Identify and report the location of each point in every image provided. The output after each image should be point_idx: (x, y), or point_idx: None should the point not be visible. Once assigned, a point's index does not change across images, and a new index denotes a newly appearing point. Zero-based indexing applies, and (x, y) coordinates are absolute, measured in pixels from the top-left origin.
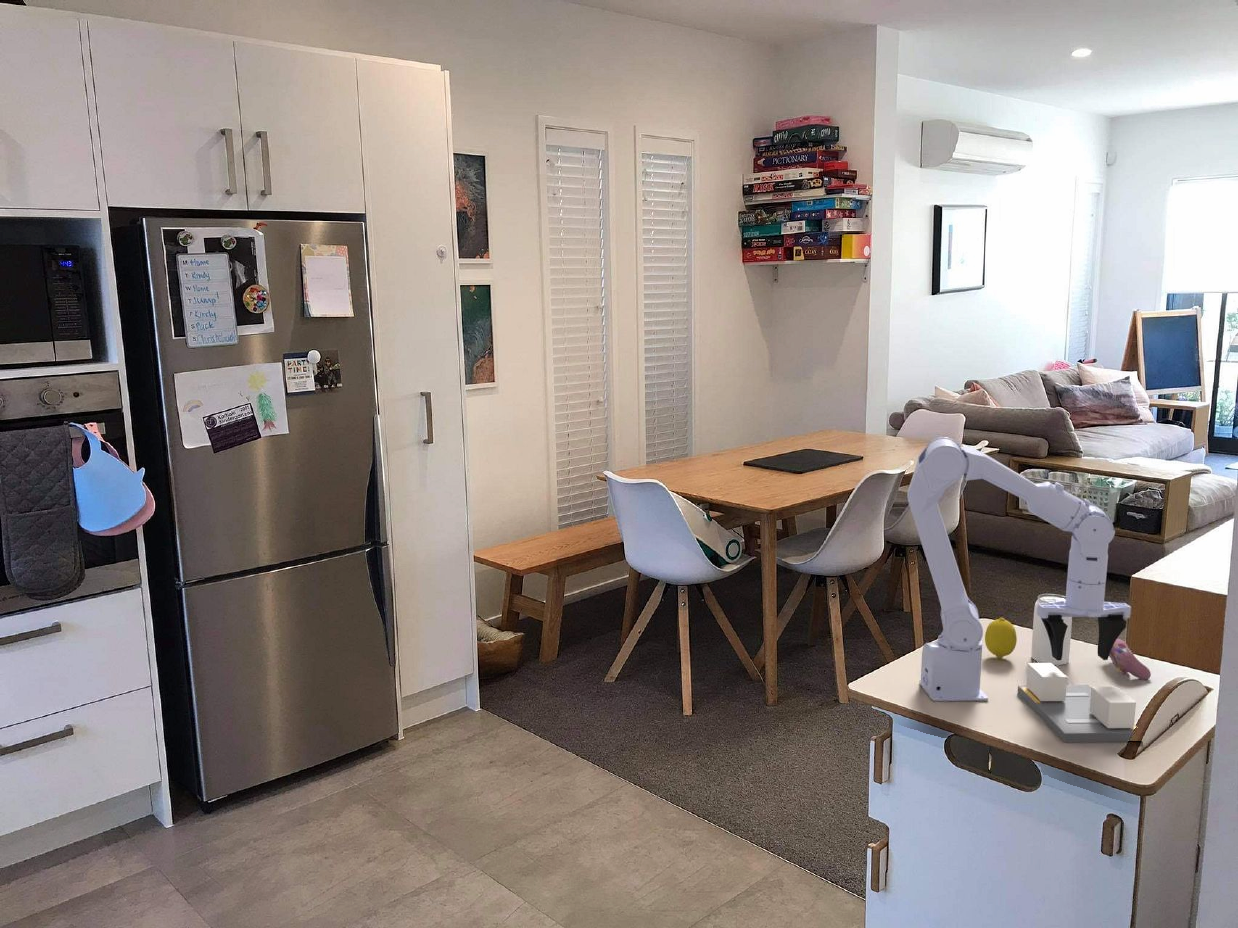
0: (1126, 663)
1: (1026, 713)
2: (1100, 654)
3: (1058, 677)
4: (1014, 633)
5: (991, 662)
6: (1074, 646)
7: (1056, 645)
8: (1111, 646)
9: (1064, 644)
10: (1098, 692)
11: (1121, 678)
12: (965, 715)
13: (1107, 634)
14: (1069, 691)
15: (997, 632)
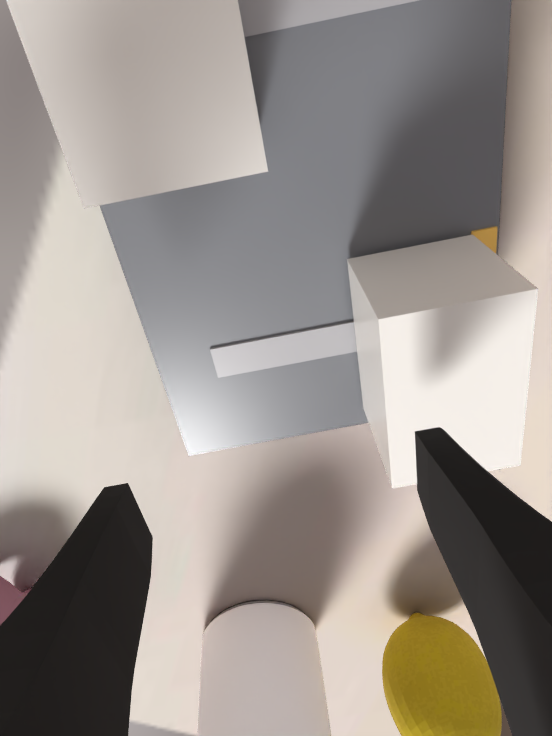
0: (10, 612)
1: (527, 183)
2: (139, 530)
3: (434, 305)
4: (412, 708)
5: (453, 587)
6: (161, 709)
7: (514, 497)
8: (56, 564)
9: (227, 683)
10: (243, 51)
11: (44, 560)
12: None
13: (69, 670)
14: (286, 380)
15: (483, 701)
